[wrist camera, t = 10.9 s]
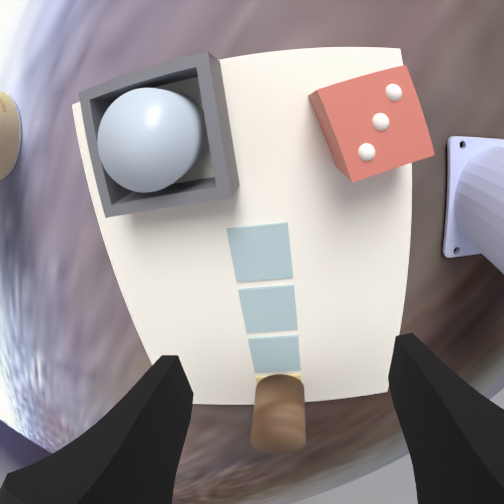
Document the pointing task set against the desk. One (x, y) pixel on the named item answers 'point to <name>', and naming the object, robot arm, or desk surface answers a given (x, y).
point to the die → (372, 123)
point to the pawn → (279, 415)
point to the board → (259, 232)
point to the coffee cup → (9, 134)
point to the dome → (151, 138)
